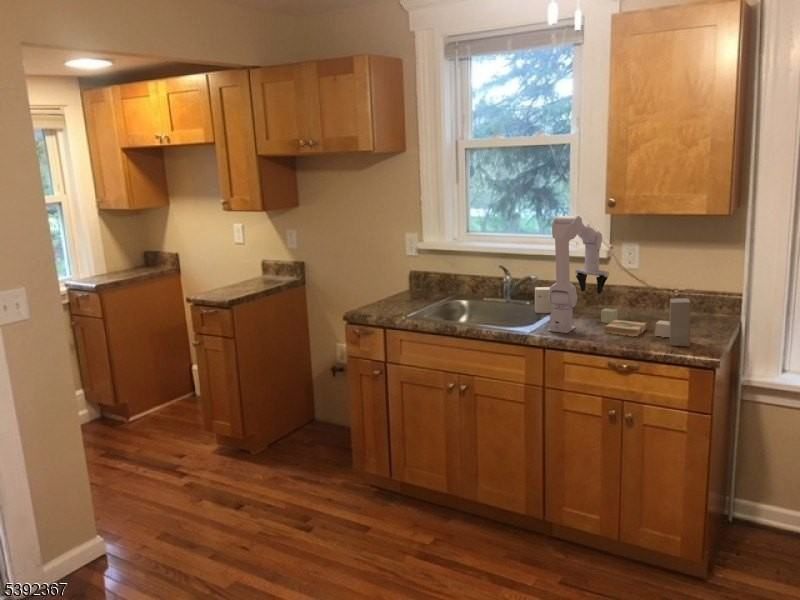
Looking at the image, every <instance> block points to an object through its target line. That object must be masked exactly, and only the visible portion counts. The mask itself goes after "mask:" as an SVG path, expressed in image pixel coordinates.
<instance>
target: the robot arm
mask: <svg viewBox="0 0 800 600" xmlns="http://www.w3.org/2000/svg"><path fill="white" fill-rule="evenodd" d="M551 234H552V238H553V239H554V244H555V247H554V249H555V251H554V252H555V279H556V280H555V281H556V282H555V283H553V284H552V285H550V286H549V287H550V291H549V297H548V299H549V302H550V304H551V305H552V307H553V312H552V313H549V314H550V315H549V328H548V329H547V331H548V332H554V333H555V332H556V333H564V334H567V333H570V332H571V331H573V330H574V329H576V327H577V326H575V325H573V308H575V306H576V304H578V298H579V297H578V294H577V286H575V285H574V284H573V283H572V282H571V280H570V279H571V278H570V277H571V276H570V275H571V274H570V273H571V272H570V271H571V270H570V269H571V268H570V241H571V240H573V239H575V238H576V237H577V236H578V237H579V238H580V239H581V240H582V243H583V245H584V247H585V248H584V268H575V271H574V274H576V275H575V278H576V280H577V281H578V284H579V287H580V291H581V292H586V285H587V284H586V283H587V276H595V277H596V284H597V288H596V289H597V294H602V291H603V288H604V285H605V284H606V281H607V280H608V277H609V276H610V272H609V271H605V270H600V250H601V247H602V242H603V234H602V233H601V232H600V231H596V230H594V228H592V227H591V226H590V224H588V223H583V219H582V217H580V215H576V216H575V215H574V216H572V215H556V216H554V218H553V220H552V221H551Z"/></svg>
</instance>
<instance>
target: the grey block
mask: <svg viewBox="0 0 800 600" xmlns="http://www.w3.org/2000/svg"><path fill="white" fill-rule="evenodd" d="M656 336H661V337H660V338H664V337H670V321H667V320H658V321H657V322H655V331H654V337H656Z"/></svg>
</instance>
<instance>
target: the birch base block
mask: <svg viewBox="0 0 800 600" xmlns="http://www.w3.org/2000/svg"><path fill="white" fill-rule="evenodd" d="M644 330H645V331H646V330H647V322H641V321H631V320H624V319H617V320H614V321H612V322H611V323H607V324H606V325H605V326H604V334H609V333H611V335H617V334H619V336H626V335H628V337H634V336H637V337H639V336H640V335H642V334H643V331H644ZM645 331H644V332H645ZM639 334H640V335H639ZM638 335H639V336H638Z"/></svg>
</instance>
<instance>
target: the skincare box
mask: <svg viewBox="0 0 800 600" xmlns="http://www.w3.org/2000/svg"><path fill="white" fill-rule="evenodd" d="M690 312H691V300H690V298H686V297H683V298H670V299H669V314H668V315H669V322H670V338H669V343H670V346H673V347H688V348H690V346H691V317H690V316H691V313H690Z"/></svg>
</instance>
